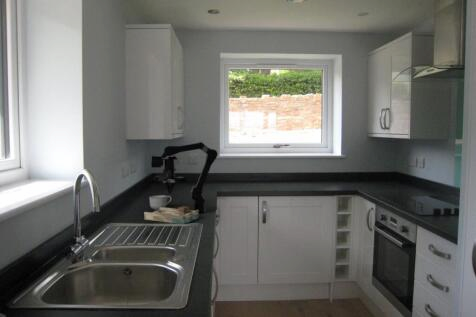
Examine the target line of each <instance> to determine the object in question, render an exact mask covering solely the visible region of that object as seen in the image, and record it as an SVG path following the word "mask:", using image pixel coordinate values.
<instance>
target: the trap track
mask: <svg viewBox="0 0 476 317" xmlns="http://www.w3.org/2000/svg"><path fill="white" fill-rule="evenodd" d="M143 214H144V215H143V216H144V218H143V219H144V220H146V221H156V222H164V223H171V224H172V223H174V224H178V225H179V224H180V225H186V224H188V223H191V222H192V221H196V220H197V219H199V218H200V214H199V210H194V209H189V213H188V214H185V215H179V213H178V208H174V207H159V209H157V210H154V211H152V212H149V211H144V212H143ZM185 223H186V224H185Z"/></svg>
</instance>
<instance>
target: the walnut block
mask: <svg viewBox="0 0 476 317" xmlns="http://www.w3.org/2000/svg"><path fill="white" fill-rule="evenodd" d="M177 209H178V213H179V215H185V214H188V213H189V210H190V207H189V206H185V205H184V206H179V207H177Z"/></svg>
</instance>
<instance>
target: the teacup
mask: <svg viewBox="0 0 476 317" xmlns="http://www.w3.org/2000/svg"><path fill="white" fill-rule="evenodd" d="M168 198H169V200H168ZM171 202H172V196H171V195H162V194H161V195H152V196H149V206H150V208H151V209H152V210H159V207H165V208H167V207H166V206H168V204H170V203H171Z"/></svg>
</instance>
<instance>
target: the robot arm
mask: <svg viewBox="0 0 476 317" xmlns="http://www.w3.org/2000/svg"><path fill="white" fill-rule="evenodd" d="M194 150H195V151H196V150H201V151H202V152H203V153H204V154H205V162H204V164H203V167H202V170H201V172H200V174H199V177H198V180H197V183H196V184H195V186H194V185H192V186H191V187H192V188H191V190H190V198H191V199H192V200H193V201H194V202H193V203H194V209H193V210H199V215H201V214H204V213H206V212H207V210H205V202H206V199H205V197H204V196H202V194H203V188H204V185H205V183H206V180H207V178H208V175H209V172H210V169H211V167H212V165H213V164H214V162H215V161H216V159H217V158H218V156H219V154H218V151H217V150H216V149H213V148H210V147H208V146H207V145H206V144H204V142H201V141H199V142H196V143H190V144H184V145H183V144H182V145H166V146H165V147H164V148H163V152H162V154H161V155H160V156H159V155H152V156H151V163H150V164H151V165H150V166H151V168H153V169H154V168H156V169H157V168H162V167H163V166H164V168H163V169H162V172H161V173H160V174H158V175H156V176H154V177H153V182H161V184H163V185H165V188H166V190H167V192H168V194H169V195H171V194H172V192H173V190H174V188H175V186H176V184H180V183H186V177H185V176H177V175H175V172H176V169H177V168H175V160H178V157H177V156H176V155H177V154H179V153H183V152H189V151H194ZM176 176H177V177H176Z"/></svg>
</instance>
